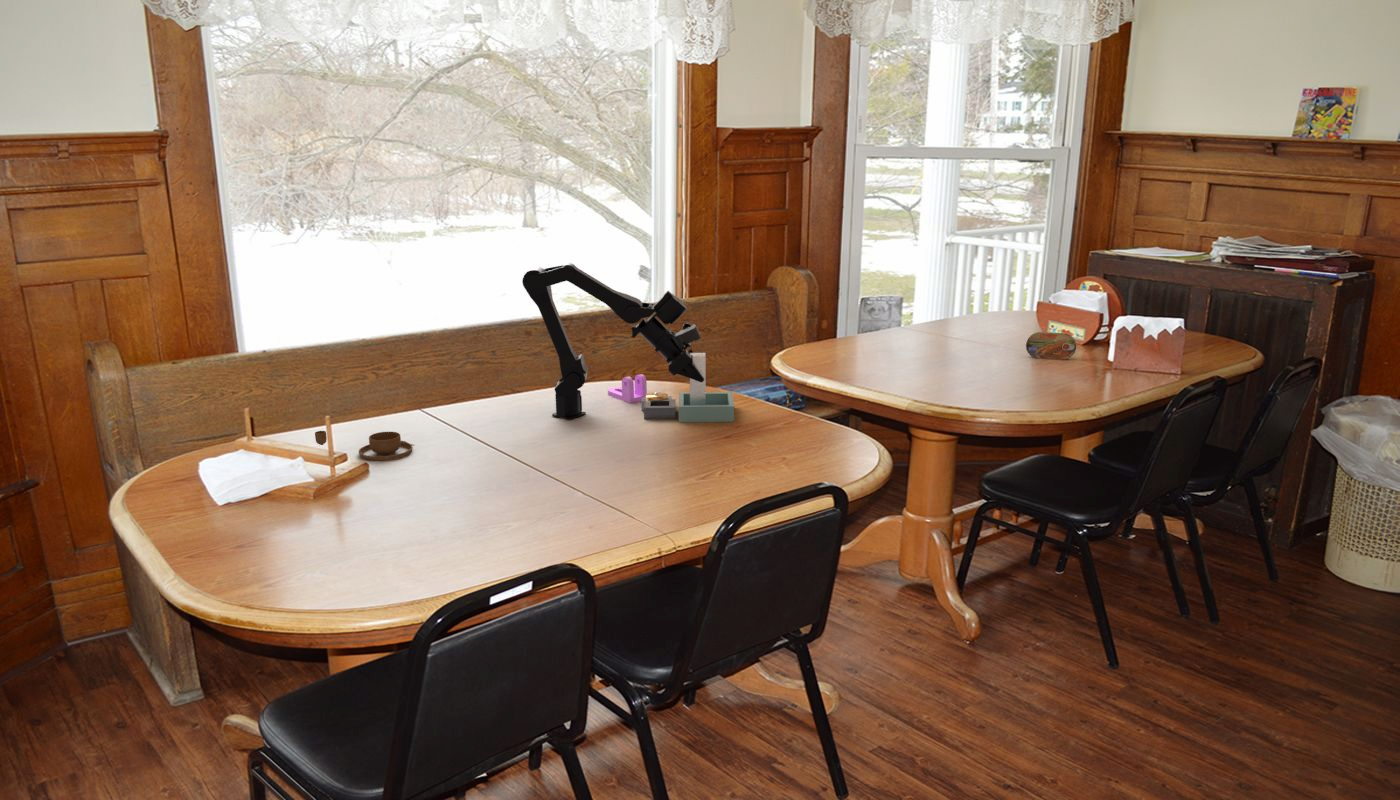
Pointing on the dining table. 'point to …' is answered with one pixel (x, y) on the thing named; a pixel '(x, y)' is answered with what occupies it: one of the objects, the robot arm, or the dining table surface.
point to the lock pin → (695, 386)
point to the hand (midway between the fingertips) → (703, 379)
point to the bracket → (630, 389)
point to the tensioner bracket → (658, 406)
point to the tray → (707, 408)
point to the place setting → (377, 445)
